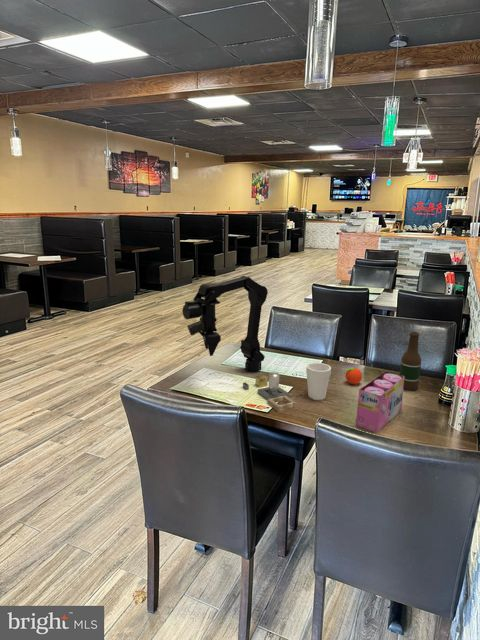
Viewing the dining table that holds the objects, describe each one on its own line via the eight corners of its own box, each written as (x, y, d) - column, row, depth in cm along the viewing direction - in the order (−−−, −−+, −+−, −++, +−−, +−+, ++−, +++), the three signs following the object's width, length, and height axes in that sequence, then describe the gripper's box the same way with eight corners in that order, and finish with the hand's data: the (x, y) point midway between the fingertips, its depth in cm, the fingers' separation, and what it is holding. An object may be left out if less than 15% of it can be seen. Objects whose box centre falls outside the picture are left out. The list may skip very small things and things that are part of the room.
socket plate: (267, 382, 183) (267, 376, 182) (292, 399, 167) (292, 392, 167) (238, 388, 176) (238, 382, 175) (261, 406, 161) (262, 398, 160)
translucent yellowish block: (263, 382, 180) (263, 375, 179) (267, 385, 177) (267, 377, 176) (255, 384, 178) (255, 376, 177) (259, 387, 175) (259, 379, 174)
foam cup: (313, 405, 163) (316, 373, 159) (299, 395, 171) (301, 364, 167) (333, 400, 167) (336, 369, 164) (319, 391, 175) (321, 361, 172)
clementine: (346, 387, 180) (348, 371, 178) (339, 381, 186) (341, 365, 185) (364, 386, 181) (366, 370, 180) (356, 379, 188) (358, 364, 186)
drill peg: (274, 392, 171) (275, 371, 169) (280, 396, 168) (281, 375, 165) (266, 394, 169) (267, 373, 167) (271, 398, 166) (272, 376, 163)
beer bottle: (418, 386, 182) (425, 331, 176) (417, 393, 175) (424, 336, 169) (399, 382, 185) (405, 329, 179) (397, 389, 179) (403, 333, 173)
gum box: (382, 403, 166) (386, 369, 163) (403, 409, 161) (407, 375, 158) (354, 425, 148) (358, 388, 145) (377, 433, 143) (381, 395, 140)
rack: (284, 401, 165) (285, 395, 165) (295, 409, 159) (295, 402, 159) (267, 405, 161) (267, 399, 161) (277, 413, 155) (277, 406, 155)
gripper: (185, 311, 180) (186, 346, 185) (192, 322, 163) (193, 361, 167) (211, 309, 183) (211, 344, 187) (220, 320, 166) (221, 359, 170)
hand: (209, 352), depth 178 cm, fingers open, 9 cm apart
